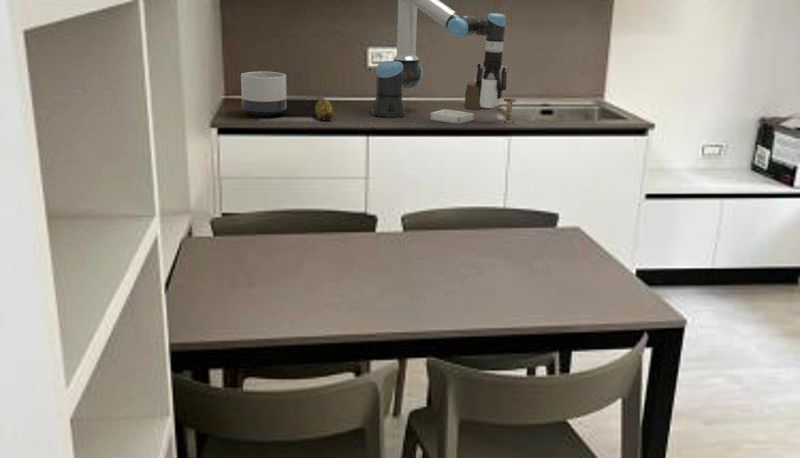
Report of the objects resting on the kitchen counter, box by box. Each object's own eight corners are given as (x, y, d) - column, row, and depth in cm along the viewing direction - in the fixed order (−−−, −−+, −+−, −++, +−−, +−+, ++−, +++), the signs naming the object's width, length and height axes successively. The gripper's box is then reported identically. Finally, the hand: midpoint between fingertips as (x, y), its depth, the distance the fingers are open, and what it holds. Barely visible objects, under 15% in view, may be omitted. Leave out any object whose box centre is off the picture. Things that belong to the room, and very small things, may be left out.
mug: (494, 108, 340) (496, 80, 336) (478, 107, 341) (481, 79, 337) (496, 104, 349) (499, 77, 345) (481, 103, 350) (483, 76, 346)
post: (501, 121, 351) (502, 98, 348) (505, 120, 354) (506, 97, 351) (511, 123, 348) (513, 99, 345) (515, 121, 352) (517, 98, 348)
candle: (483, 111, 374) (485, 79, 369) (457, 108, 380) (459, 77, 376) (495, 107, 385) (497, 77, 380) (470, 104, 392) (471, 74, 387)
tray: (429, 119, 350) (430, 113, 349) (444, 115, 360) (444, 109, 359) (459, 124, 342) (459, 117, 341) (473, 120, 352) (473, 113, 351)
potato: (312, 121, 338) (312, 102, 335) (316, 116, 350) (316, 98, 347) (332, 122, 337) (332, 103, 335) (335, 116, 350) (335, 98, 347)
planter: (273, 120, 336) (273, 78, 331) (234, 116, 342) (232, 75, 337) (294, 113, 354) (293, 73, 348) (255, 109, 360) (254, 70, 354)
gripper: (469, 49, 339) (465, 102, 346) (510, 54, 329) (505, 109, 336) (478, 48, 345) (473, 100, 352) (518, 53, 335) (512, 106, 342)
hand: (489, 104), depth 344 cm, fingers closed on mug, 6 cm apart
